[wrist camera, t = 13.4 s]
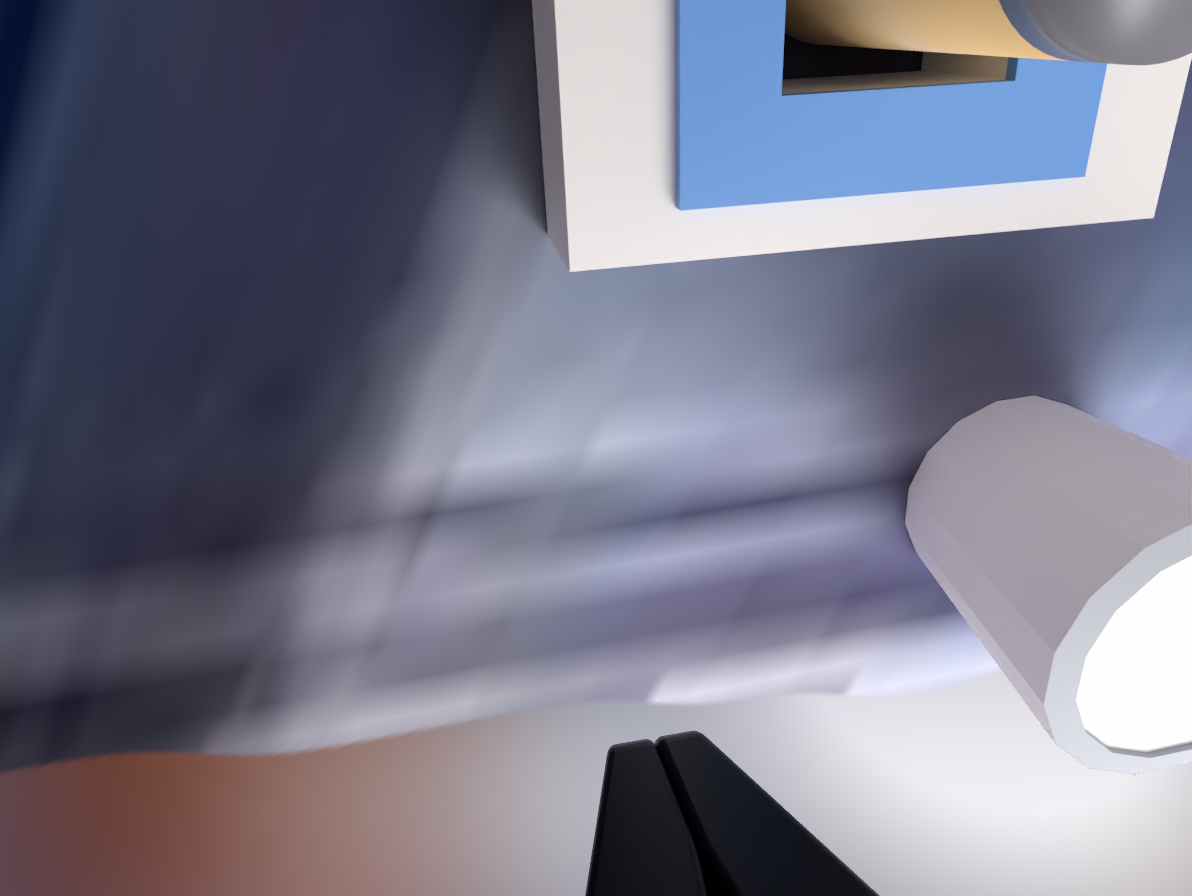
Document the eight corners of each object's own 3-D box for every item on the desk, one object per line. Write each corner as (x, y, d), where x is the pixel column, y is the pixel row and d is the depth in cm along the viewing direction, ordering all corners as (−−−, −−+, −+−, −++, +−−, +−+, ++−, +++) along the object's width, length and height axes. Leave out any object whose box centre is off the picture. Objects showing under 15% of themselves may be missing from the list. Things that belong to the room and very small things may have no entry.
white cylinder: (1114, 549, 26) (1334, 716, 20) (895, 624, 26) (1050, 818, 19) (1118, 338, 23) (1384, 459, 16) (869, 422, 22) (1043, 577, 16)
